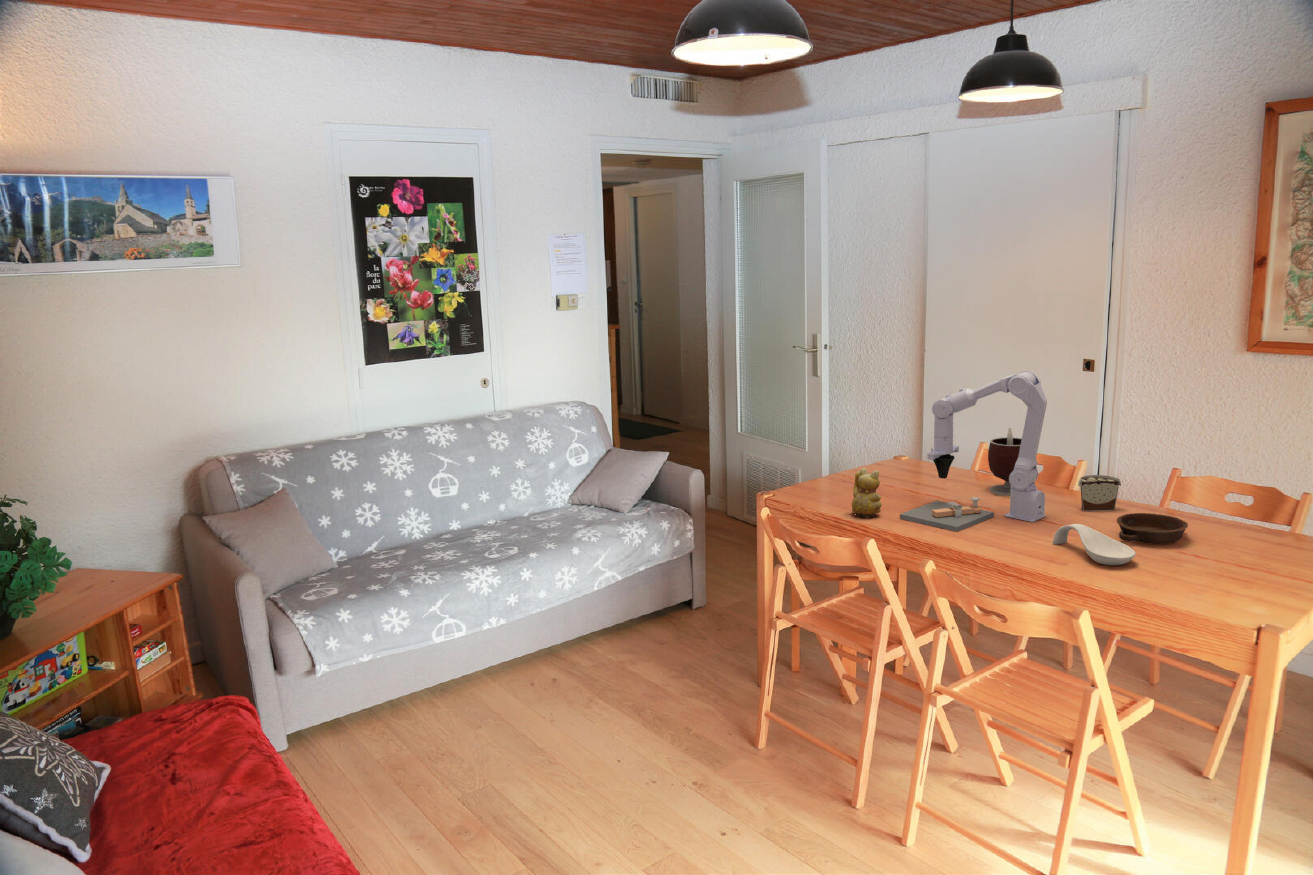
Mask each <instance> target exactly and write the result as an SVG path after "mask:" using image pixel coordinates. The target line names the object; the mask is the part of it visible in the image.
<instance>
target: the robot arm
mask: <svg viewBox="0 0 1313 875" xmlns="http://www.w3.org/2000/svg"><path fill="white" fill-rule="evenodd" d="M1041 382H1042V381H1041V380H1040V378H1039V377H1037V375H1036V374H1035V373H1033V372H1031V371H1030V370H1023V371H1021V372H1020V373H1018V374H1017V373H1014V374H1010V375H1007V376H1004V377H1003V376H1002V377H1001V378H998V379H996V380H994V381H991V382H989V383H987V384H985V385H983V386H980V387H978V388H976V389H971V388H967V387H966V388H965V387H961V388H960V389H959V390H958V391H957V392H955V393H952V394H951V395H950V394H946V395H945V397H943V398H940V399H937V401H935V402H934V403H933V404H932V406H931V412H932V414H933V415H934V421H933V422H934V425H933V426H934V428H933V447H932V448H931V449H930V450H931V451H930V452H928V453H927V454H926V455H927V456H926V457H927V460H928V461H930V460H931V461H933V463H934V465H935V467H936V470H937V475H938V478H939V479H944V480H945V479H947V478H948V475H949V471H950V468H951V465H952V464H953V462H954V460H955V455H952V454H954V453H959V450H960V446H959V445H954V414H955V413H959V412H962V411H964V410H967V409H969V408H972V407H974V406H976V404H977V402H978V400H979V399H982V398H985V397H988V396H990V395H993V394H996V393H999V392H1002V393H1006V394H1008V393H1010V394H1012V395H1013V396H1014V397H1016V398H1018V399H1020V400H1021V401H1022V402H1023V404H1025V405H1026V407H1027V409H1026V410H1027V411H1026V416H1025V420H1024V424H1023V430H1022V435H1021V438H1022V440H1021V446H1020V451H1019V456H1018V459H1017V461H1016V464H1015V467H1014V470H1013V472H1012V473H1011V474H1010V476H1009V482H1010V484H1011V492H1010V496H1009V497H1010V498H1009V512H1008V513H1007V512H1006V513H1004V514H1003V516H1004V517H1006V518H1011V519H1014V520H1015V519H1016V520H1022V521H1026V522H1033V523H1034V522H1036V521H1038V520H1041V519H1043V518H1045V517H1046V514H1045V508H1046V507H1045V506H1046V496H1045V493H1044V492H1043V491H1041V490H1038V489H1037V485H1036V483H1035V482H1036V481H1037V480H1038V477H1039V471H1038V467H1037V466H1038V460H1037V455H1038V451H1039V445H1040V440H1041V437H1042V436H1041V435H1042V429H1043V425H1044V421H1045V420H1044V419H1045V414H1046V410H1047V404H1048V399H1047V398H1046V395H1045V392H1044V390H1043V387H1042V383H1041Z"/></svg>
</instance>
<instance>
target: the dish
mask: <svg viewBox="0 0 1313 875" xmlns="http://www.w3.org/2000/svg"><path fill="white" fill-rule="evenodd" d="M1116 523H1117V524H1118V526H1119V529H1120V531H1119V534H1118V537H1119V539H1120V541H1125V542H1137V543H1140V544H1141V543H1142V544H1147V545H1169V544H1174V543H1177V542H1178V541H1180V540H1182V537H1183V536H1184V533H1185V531H1186V529H1187V528H1188V527H1189V524H1188V522H1186V521H1185V520H1183V519H1180V518H1179V517H1177V516H1172V515H1166V514H1157V513H1149V512H1148V513H1147V512H1145V513H1144V512H1135V513H1134V512H1133V513H1126V514H1122V515H1119V516H1118V517H1117V518H1116Z"/></svg>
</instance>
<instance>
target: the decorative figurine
mask: <svg viewBox="0 0 1313 875" xmlns="http://www.w3.org/2000/svg"><path fill="white" fill-rule="evenodd" d="M854 476H855V477H854V484H853V489H852V490H853V491H852V495H853V499H852V502H851V510H852V512H853V513H854V514H856V515H855V516H857V515H859V516H858V517H862V518H866V519H869V518H870V517H875V515H877V514H879V513H881V511H882V509H881V508H882V506H883V505H882V501H881V499H882V496H881V495H880V494H878V493H877V489H879V487H880V483H881V482H880V479H879V477H880V472H879V470H877V469H876V470H875V469H874V470H873V471H872V472H871V473H869V472H868V469H867V468H866V467H862V468H861V469H860V470H857V471H856V472H855V474H854Z"/></svg>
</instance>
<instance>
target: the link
mask: <svg viewBox="0 0 1313 875" xmlns="http://www.w3.org/2000/svg"><path fill="white" fill-rule="evenodd" d="M970 500H971V501H972V505H967V506H966V505H965V506H964V505H963V506H964V507H962V515H963V514H972V513H981V510H982V506H980V505H978V503H979V501H980V497H977V496H972V497H971V498H970ZM932 515H933V516H935V517H944V516H953V515H954V509H953V508H945V509H935V510H932Z"/></svg>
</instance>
